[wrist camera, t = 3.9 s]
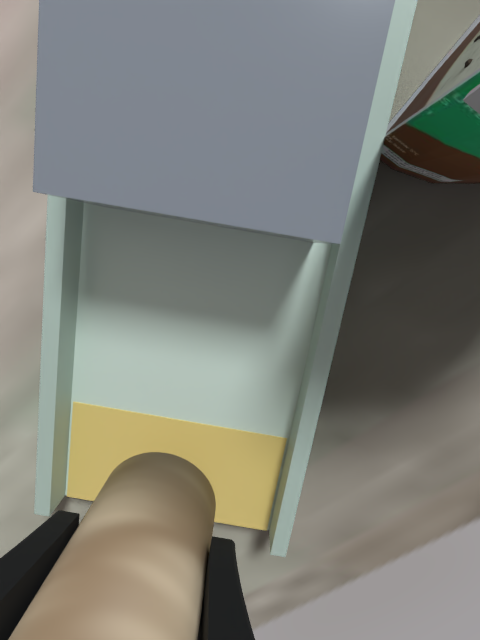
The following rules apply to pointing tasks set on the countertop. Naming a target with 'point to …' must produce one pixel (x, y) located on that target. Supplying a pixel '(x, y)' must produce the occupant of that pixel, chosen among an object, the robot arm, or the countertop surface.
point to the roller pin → (132, 559)
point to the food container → (441, 120)
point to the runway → (196, 342)
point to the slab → (209, 108)
